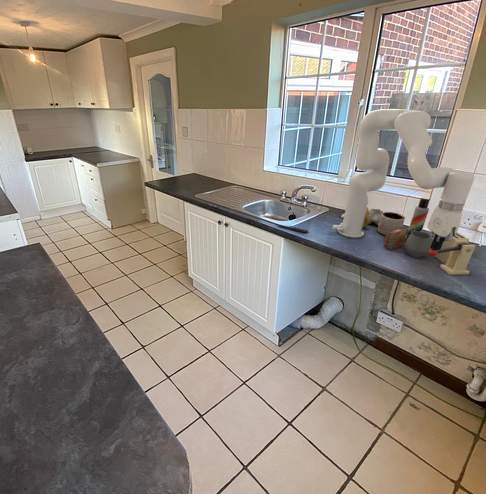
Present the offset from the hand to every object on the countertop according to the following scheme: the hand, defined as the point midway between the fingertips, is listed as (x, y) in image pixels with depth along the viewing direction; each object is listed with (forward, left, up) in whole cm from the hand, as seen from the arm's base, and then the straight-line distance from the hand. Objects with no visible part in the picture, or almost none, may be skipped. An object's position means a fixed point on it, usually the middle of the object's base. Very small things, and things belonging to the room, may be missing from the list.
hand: (435, 249), depth 122 cm
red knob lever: (+6, 0, -2) cm, 6 cm away
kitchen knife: (-6, +65, -10) cm, 66 cm away
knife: (-44, +45, -10) cm, 64 cm away
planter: (+5, +38, -11) cm, 40 cm away
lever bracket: (+12, 0, -10) cm, 16 cm away
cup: (+4, +14, -11) cm, 18 cm away
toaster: (+15, +11, -10) cm, 21 cm away
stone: (-6, +51, -4) cm, 51 cm away
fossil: (+4, +60, -13) cm, 62 cm away
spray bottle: (+16, +34, -11) cm, 39 cm away
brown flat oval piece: (-2, +22, -11) cm, 25 cm away
